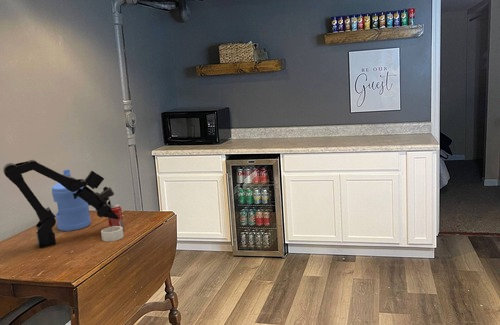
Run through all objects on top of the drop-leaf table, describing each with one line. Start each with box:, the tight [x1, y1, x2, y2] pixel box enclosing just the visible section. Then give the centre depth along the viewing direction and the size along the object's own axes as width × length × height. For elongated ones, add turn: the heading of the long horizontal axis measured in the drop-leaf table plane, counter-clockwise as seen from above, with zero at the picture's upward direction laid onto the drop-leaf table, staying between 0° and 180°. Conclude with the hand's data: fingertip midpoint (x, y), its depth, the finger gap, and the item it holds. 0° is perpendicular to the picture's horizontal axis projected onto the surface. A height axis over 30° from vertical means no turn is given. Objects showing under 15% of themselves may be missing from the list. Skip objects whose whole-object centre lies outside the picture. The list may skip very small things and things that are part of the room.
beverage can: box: [107, 204, 125, 229], centre depth 221 cm, size 6×6×12 cm
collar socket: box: [100, 226, 124, 243], centre depth 212 cm, size 9×9×4 cm
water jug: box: [51, 169, 92, 232], centre depth 232 cm, size 16×16×28 cm
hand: (118, 216), depth 221 cm, fingers closed on beverage can, 6 cm apart
